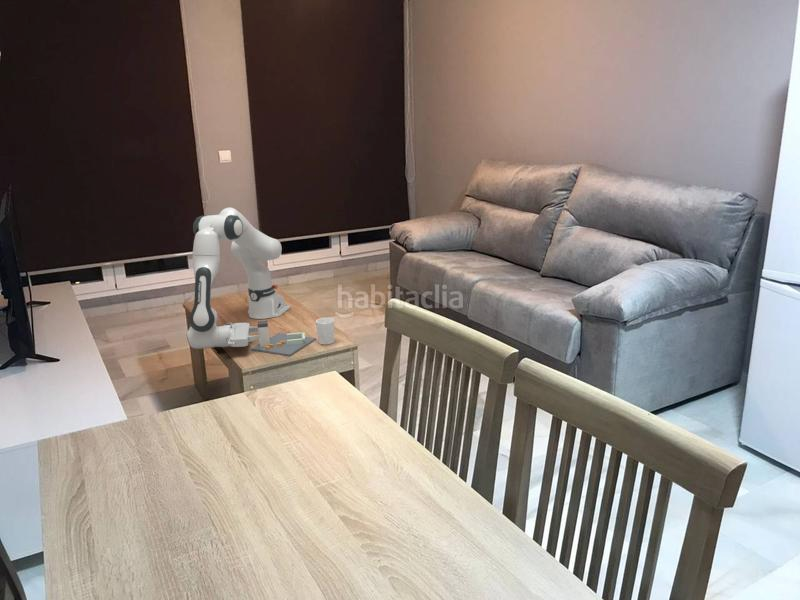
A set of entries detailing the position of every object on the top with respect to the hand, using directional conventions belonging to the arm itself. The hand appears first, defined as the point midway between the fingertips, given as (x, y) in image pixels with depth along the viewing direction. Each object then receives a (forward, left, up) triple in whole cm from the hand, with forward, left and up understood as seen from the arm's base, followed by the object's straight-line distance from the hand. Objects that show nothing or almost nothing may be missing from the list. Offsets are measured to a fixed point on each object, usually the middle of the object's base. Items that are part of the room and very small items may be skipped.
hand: (260, 332), depth 280 cm
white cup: (-14, +24, -7) cm, 29 cm away
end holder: (-9, +11, -6) cm, 16 cm away
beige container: (-1, +1, -5) cm, 6 cm away
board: (-5, +8, -6) cm, 11 cm away
